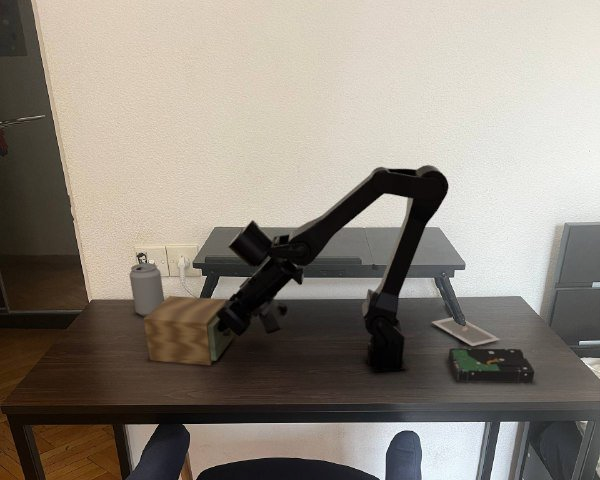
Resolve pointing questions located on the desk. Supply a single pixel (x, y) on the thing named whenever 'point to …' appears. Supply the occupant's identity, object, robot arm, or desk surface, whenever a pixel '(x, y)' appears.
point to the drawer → (218, 338)
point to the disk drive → (490, 365)
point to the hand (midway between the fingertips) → (219, 330)
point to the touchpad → (466, 332)
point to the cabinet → (181, 329)
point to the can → (146, 287)
